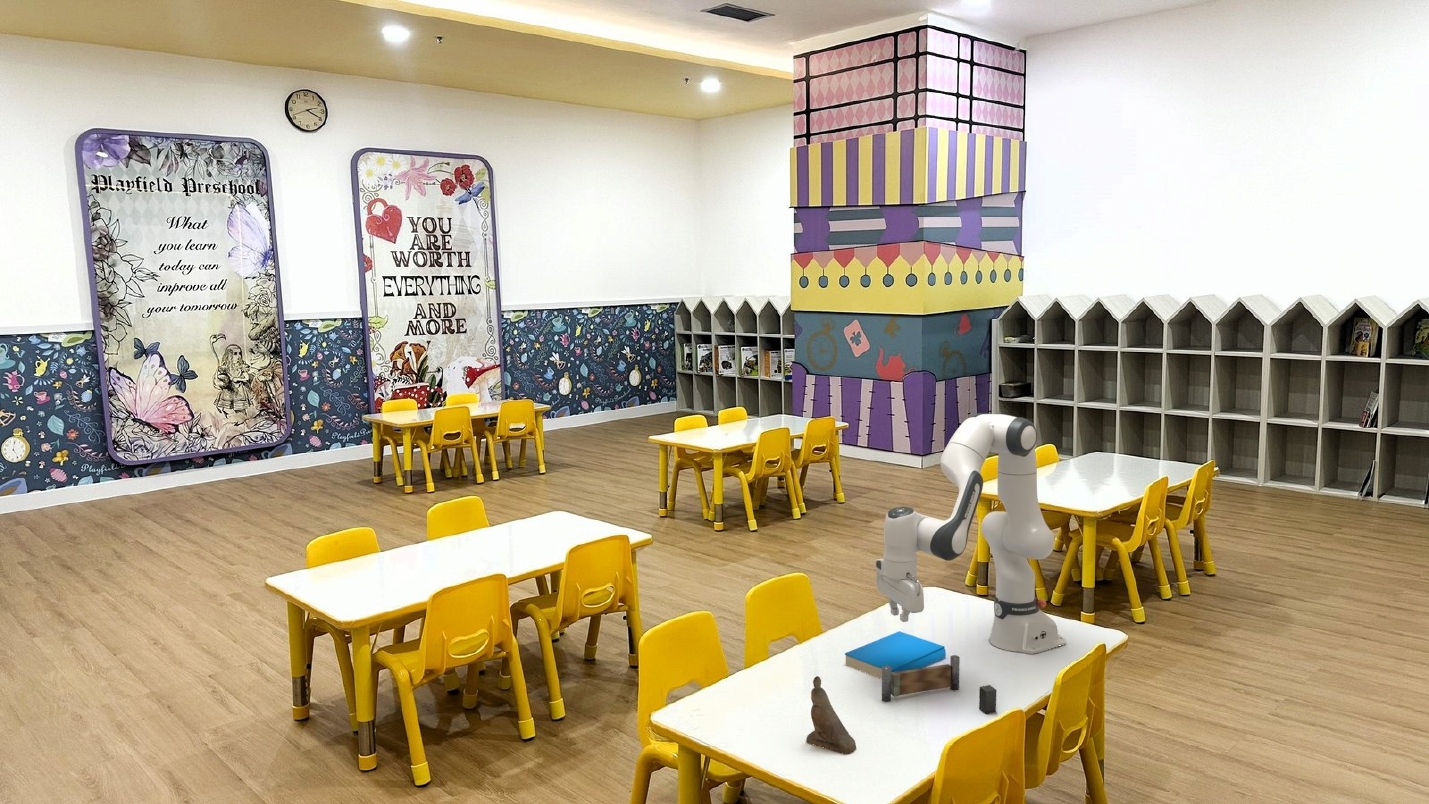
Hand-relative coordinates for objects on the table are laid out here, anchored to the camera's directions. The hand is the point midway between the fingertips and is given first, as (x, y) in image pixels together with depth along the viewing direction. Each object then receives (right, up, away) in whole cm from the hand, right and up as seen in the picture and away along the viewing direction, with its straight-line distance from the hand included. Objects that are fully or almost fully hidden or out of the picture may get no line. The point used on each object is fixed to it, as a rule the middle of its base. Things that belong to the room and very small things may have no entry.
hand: (899, 617), depth 260 cm
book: (+2, -17, +19) cm, 26 cm away
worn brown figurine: (-22, -24, -29) cm, 44 cm away
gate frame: (+8, -21, -10) cm, 24 cm away
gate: (+5, -19, -3) cm, 20 cm away
